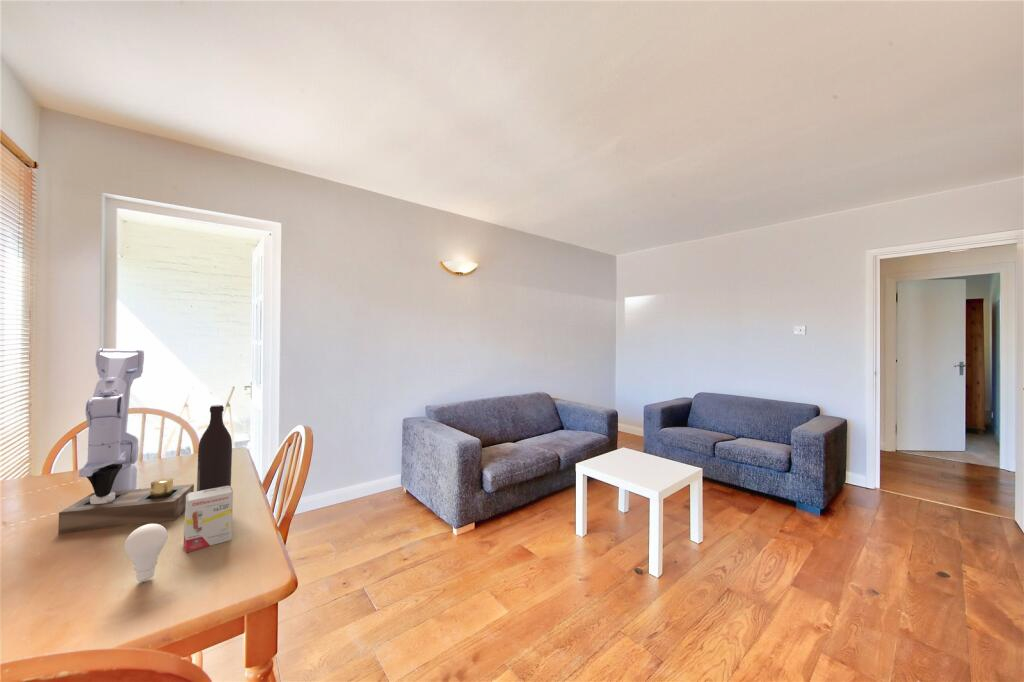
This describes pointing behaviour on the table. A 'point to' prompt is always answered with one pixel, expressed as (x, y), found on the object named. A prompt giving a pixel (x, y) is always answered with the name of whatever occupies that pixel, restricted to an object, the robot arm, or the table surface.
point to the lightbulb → (145, 549)
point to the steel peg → (102, 498)
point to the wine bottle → (214, 453)
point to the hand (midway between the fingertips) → (102, 495)
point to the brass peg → (161, 488)
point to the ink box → (208, 517)
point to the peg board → (124, 510)
